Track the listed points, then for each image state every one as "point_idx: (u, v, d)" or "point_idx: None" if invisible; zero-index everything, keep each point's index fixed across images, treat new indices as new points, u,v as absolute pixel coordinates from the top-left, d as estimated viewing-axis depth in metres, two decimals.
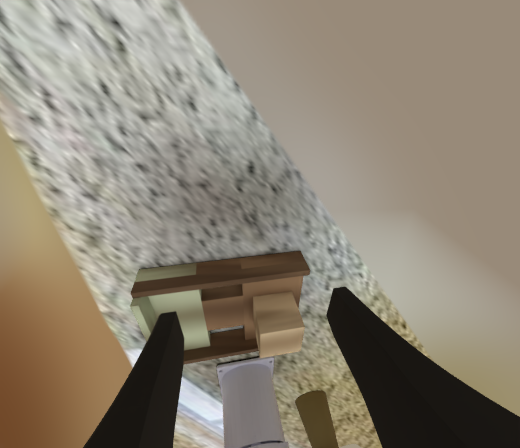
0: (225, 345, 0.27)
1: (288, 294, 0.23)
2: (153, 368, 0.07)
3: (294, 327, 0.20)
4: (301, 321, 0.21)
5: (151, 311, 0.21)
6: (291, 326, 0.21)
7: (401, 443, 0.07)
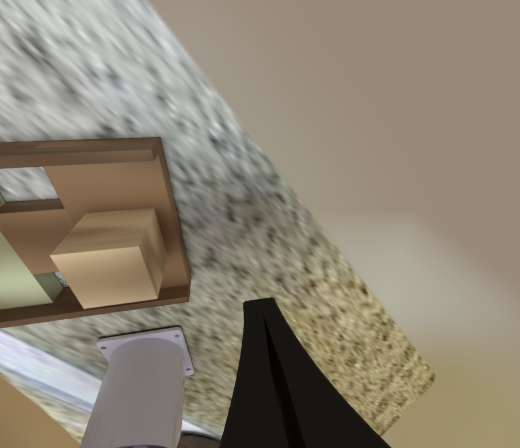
0: (76, 302, 0.18)
1: (145, 210, 0.15)
2: (262, 349, 0.08)
3: (118, 247, 0.12)
4: (139, 240, 0.12)
5: None
6: (115, 245, 0.12)
7: None
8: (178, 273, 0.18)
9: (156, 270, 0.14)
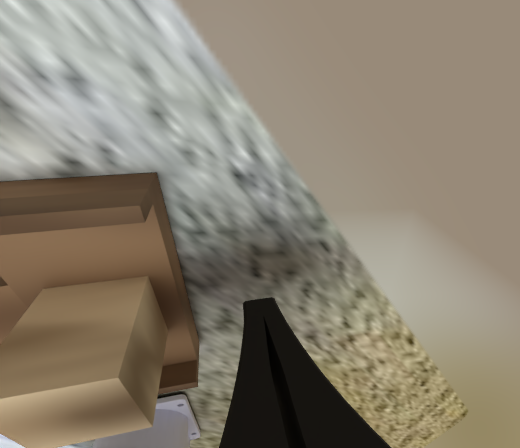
0: None
1: (135, 283, 0.10)
2: (261, 349, 0.08)
3: (82, 382, 0.07)
4: (119, 358, 0.07)
5: None
6: (77, 375, 0.07)
7: None
8: (183, 349, 0.13)
9: (151, 378, 0.09)
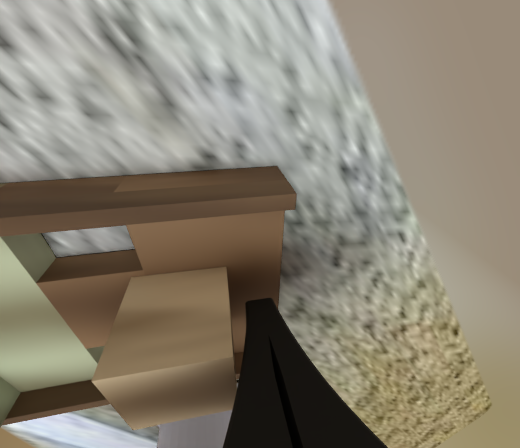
0: None
1: (216, 272, 0.10)
2: (264, 348, 0.08)
3: (201, 360, 0.07)
4: (228, 340, 0.08)
5: None
6: (195, 354, 0.07)
7: None
8: None
9: None
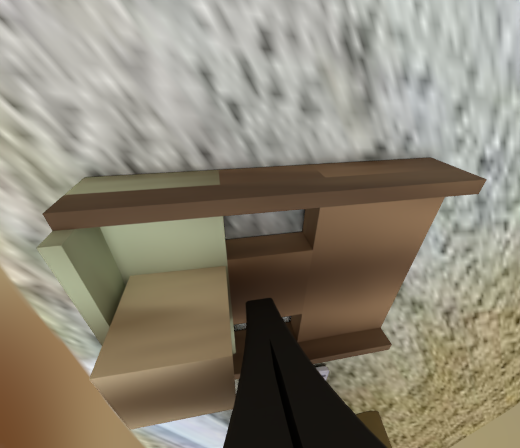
0: None
1: (215, 272, 0.10)
2: (264, 348, 0.08)
3: (200, 358, 0.07)
4: (227, 339, 0.08)
5: (115, 278, 0.09)
6: (194, 353, 0.07)
7: None
8: (379, 316, 0.15)
9: None
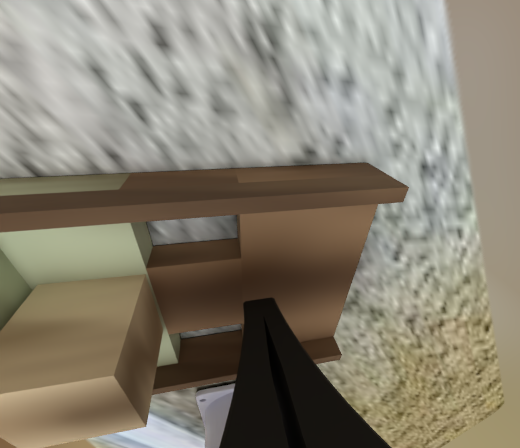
0: (206, 362, 0.14)
1: (132, 280, 0.10)
2: (262, 349, 0.08)
3: (77, 379, 0.06)
4: (115, 356, 0.07)
5: (15, 287, 0.09)
6: (72, 372, 0.07)
7: None
8: (329, 325, 0.15)
9: (145, 377, 0.09)
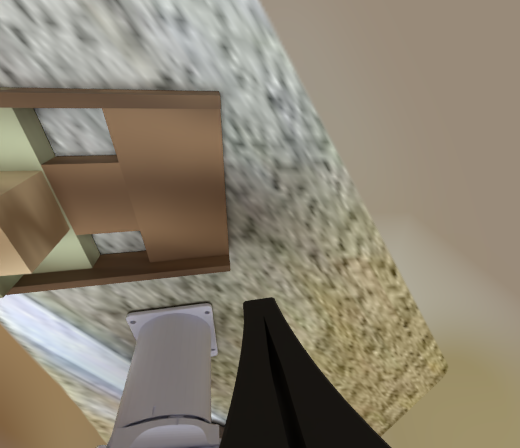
0: (116, 267, 0.17)
1: (28, 172, 0.13)
2: (262, 349, 0.08)
3: None
4: None
5: None
6: None
7: None
8: (220, 241, 0.18)
9: (34, 241, 0.12)
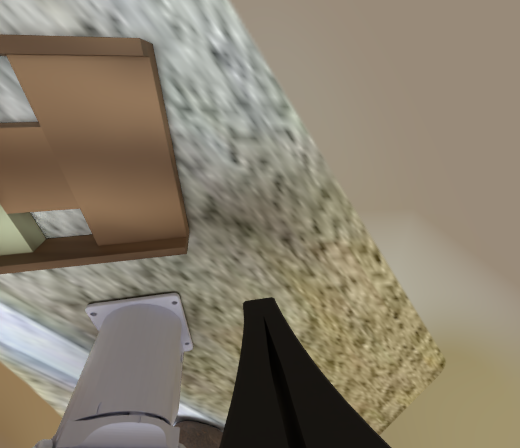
0: (59, 251, 0.16)
1: None
2: (262, 349, 0.08)
3: None
4: None
5: None
6: None
7: None
8: (174, 221, 0.16)
9: None
